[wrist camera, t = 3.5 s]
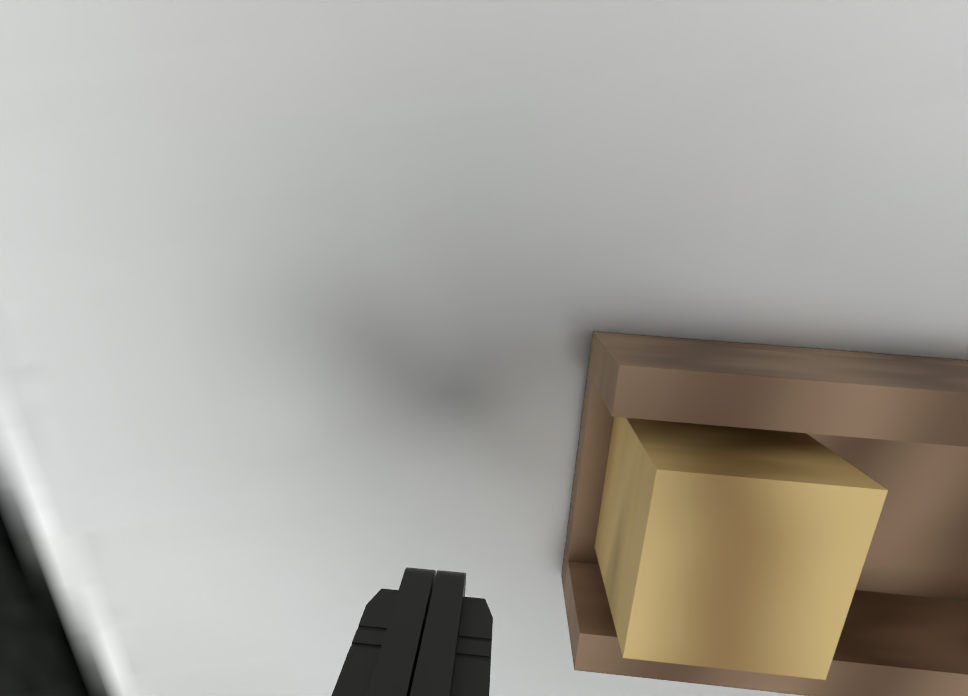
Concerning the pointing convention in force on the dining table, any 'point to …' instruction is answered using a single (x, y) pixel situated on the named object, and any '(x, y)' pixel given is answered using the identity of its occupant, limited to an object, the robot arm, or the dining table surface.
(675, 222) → the dining table surface
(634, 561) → the block
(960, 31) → the dining table surface
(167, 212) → the dining table surface
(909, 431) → the chute
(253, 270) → the dining table surface
